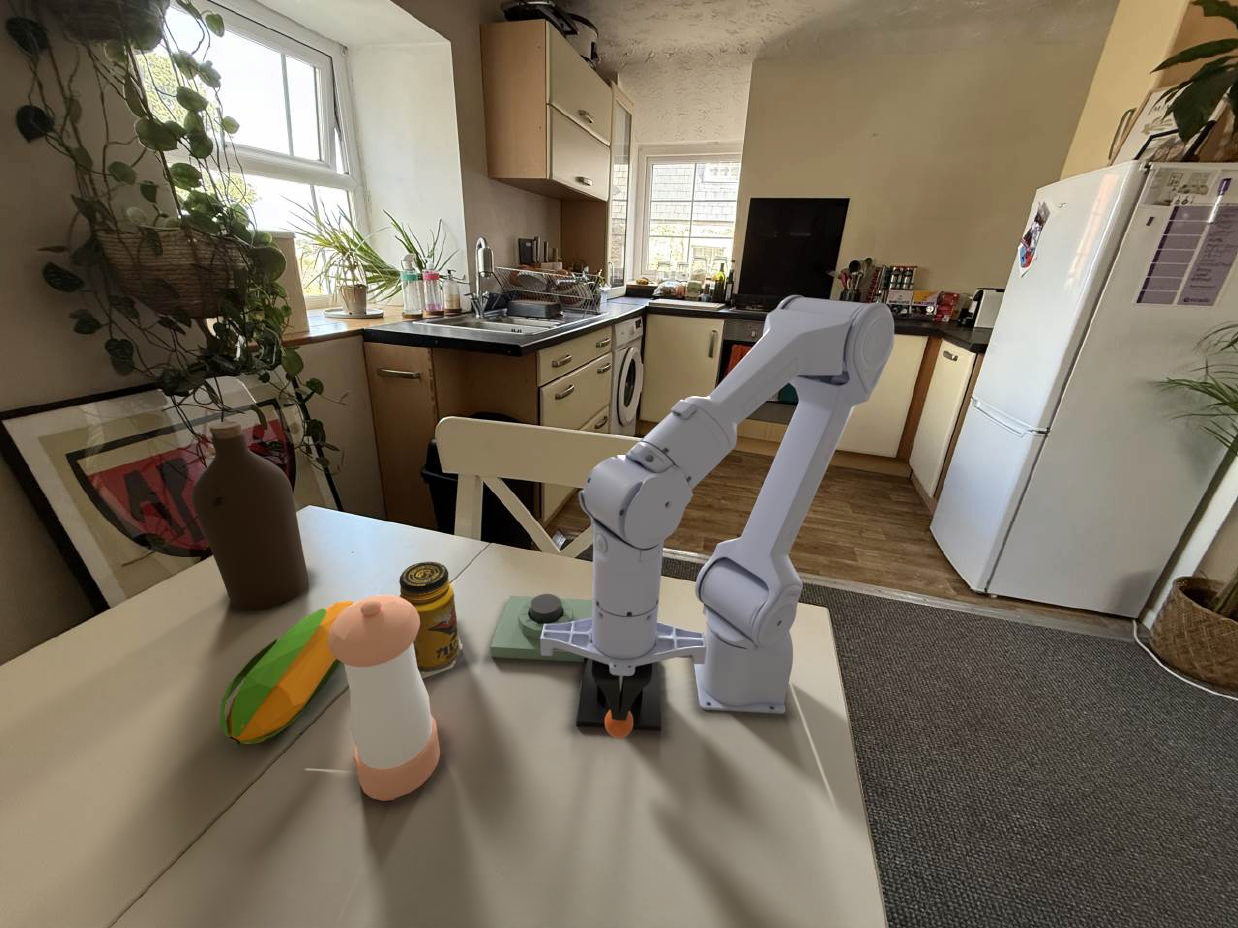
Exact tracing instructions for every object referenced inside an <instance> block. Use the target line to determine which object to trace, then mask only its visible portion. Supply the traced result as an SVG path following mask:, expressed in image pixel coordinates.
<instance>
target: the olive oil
mask: <svg viewBox="0 0 1238 928" xmlns="http://www.w3.org/2000/svg"><path fill="white" fill-rule="evenodd" d="M208 429H209V433H211V437H210V440H211V443H212V445H213V446H212V447H213V449H214V452H215V456H214V458H213V459H212V460H211V462H209V464H208V465H207V467H206V468H204V470H203V471H202V473H201V474H200V475H199V477H198V478H197V479H196V481H195V483H194V485H193V488H192V500H191V501H192V507H193V510H194V512H195V515H196V517H197V520H198V522H199V525H200V527H201V529H202V531H203V534H204V536H205V539H206V541H207V543H208V546H209V549H210V551H211V553H212V556H213V558H214V561H215V563H216V566H217V568H218V572H219V574H220V576H221V579H222V582H223V585H224V587H225V589H226V593H227V595H228V598H229V600H230V602H231V604H232V605H233V606H234V607H235V608H237V609H240V610H247V611H254V610H255V611H257V610H262V609H268V608H272V607H276V606H278V605H281V604H283V603H286V602H288V601H290V600H292V599H293V598H295V597H296V596H298V595H299V594H300V593H302V591H303V590H304V589H305V588H306V587H307V585H308V583H309V574H308V569H307V564H306V559H305V555H304V549H303V544H302V539H301V534H300V533H301V532H300V528H299V521H298V517H297V510H296V504H295V498H294V493H293V492H294V491H293V487H292V484H291V481H290V480H289V478H288V476H287V475H286V473H285V472H284V470H283V469H282V468H281V467H280V466H278V465H276V464H275V463H273V462H272V461H270V460H268V459H266V458H264V457H262V456H260V455H258V454H256V453H254V452H253V451H252V450H250V449H249V448H248V444H247V439H246V435H245V432H243V431H242V424H241V423H240V422H239V421H222V422H221V421H220V422H217V423H214V424H212V425H210V426H209V427H208Z"/></svg>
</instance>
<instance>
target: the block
mask: <svg viewBox="0 0 1238 928" xmlns="http://www.w3.org/2000/svg"><path fill="white" fill-rule="evenodd" d="M556 596H557V597H559V598H560V600H561V606H562V614H561V617H560V618H559V619H558V620H557V621H556V622H553V623H550V624H559V623H566V622H572V621H577V620H582V619H588V618H592V599H586V598H585V599H584V598H566V597H561V596H558V595H556ZM535 597H536V596H530V595H529V596H528V595H527V596H526V595H509V597H508V599H507V602H506V605H505V607H504V610H503V612H502V615H501V618H500V620H499V622H498V625H497V628H496V631H495V632H494V633H495V634H494V636H493V639H492V642H491V644H490V647H489V648H490V657H491V658H501V659H502V658H505V659H522V660H523V659H524V660H539V661H540V660H542V661H558V662H560V661H561V662H576V663H577V662H578V663H584V658H587V657H584V656H581V655H578V654H575V653H572V652H567V651H554V653H553V655H552V656H542V655H541V646H540V638H541V634H542V630H543V626H544V624H539V623H536V622H534V621H533V620H532V618H531V616H530V603H531V601H532V599H533V598H535Z"/></svg>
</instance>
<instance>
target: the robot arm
mask: <svg viewBox="0 0 1238 928" xmlns="http://www.w3.org/2000/svg"><path fill="white" fill-rule="evenodd" d="M894 346H895V321H894V317H893V314H892V311H891V309H890V307H889V306H888V305H887V304H885V303H884V302H870V303H868V302H858V301H857V302H855V301H848V300H847V301H845V300H835V299H825V298H816V297H815V298H814V297H805V296H804V295H801V294H792V295H791V294H790V295H789V296H787V297H785V298H784V299H783V300H782V301H780V302H779V304H778V305H777V307H776V308H775V309H773V310H772V311H770V312H769V313H768V314H767V315H766V318H765V321H764V325H763V331H762V337H761V338H760V339H759V340H758V341H757V342H756V343H755V344H754V345H753V346H752V348H751V349H750V350H749V351H748V352H747V353H746V354H745V355H744V356H743V358H742V359H741V360H740V361H739V362H738V363H737V364H736V365H735V366H734V368H733V369H732V370H731V371H730V372H729V373H728V374H727V375H726V376H725V377H724V378H723V379H722V380H721V382H720V383H719V384H718V385H717V386H716V387H715V388H714V390H713V391H711V393H710V394H708V396H706V397H705V396H704V397H702V396H689V397H686V398H684V400H683V399H680V400H679V401H677V402H676V403H675V405H673V406H672V407H671V408H670V411H671V412H670V413H669V414H668V415H666V417H664V418H663V419H662V420H661V421H660V422H659V423H658V424H657V425H655V427H654V428H652V429H651V430H650V432H647V434H646V435H645V436H643V437H642V439H640V441H638V442H637V443H636V444H635V445H634V446H632V448H631V449H629V450H628V451H627V452H626V453H625V454H624V455H623V454H622V455H621V454H620V455H619V454H618V455H615V457H614V456H611V457H609V458H606V459H604V460H602V461H600V462H599V463H598V464H596V465H595V466H594V467H593V468H592V470H591V471H590V473H589V474H588V476H587V477H586V481H585V483H584V488H583V489H582V490H580V491H579V492H578V501H579V505H580V507H581V509H582V510H583V512H585V514H586V515H587V516H588V517H589V520H590V526H591V527H590V532H591V534H593V537H592V538H593V540H592V542H593V543H592V580H591V581H592V583H591V585H592V587H591V600H592V618H588V619H582V620H577V621H572V622H566V623H559V624H544V626H543V630H542V634H541V638H540V646H541V655H542V656H552V655H553V653H554V651H567V652H572V653H575V654H578V655H581V656H584V657H587V658H590V659H592V670H591V672H592V677H593V680H594V682H595V683H596V684H597V685H598V686H599V687H600V688H601V690H602V691H603V693H604V695H605V697H606V699H607V701H608V704H609V707H610V711H611V715H612V719H613V720H626V719H627V715H628V712H629V710H630V707H631V705H632V703H633V702H634V700H635V698H636V697H637V695H638V694H639V693H640V692H641V690H642V689H643V688H645V687H646V686H647V685H648V684H649V683H650V680H651V677H652V663H654V662H658V663H659V662H662V661H667V660H671V659H676V658H678V659H691V663H692V664H693V666H694V667H693V668H694V674H695V681H696V688H697V696H698V703H699V707H700V708H701V709H702V710H706V711H723V712H724V711H726V712H745V713H759V714H761V713H764V714H778V715H779V714H781V715H783V714H785V713H786V706H785V700H786V696H787V691H788V687H789V682H790V678H791V674H792V671H793V663H794V661H793V660H794V645H793V638H792V634H791V631H790V630H791V628H792V627H793V624H794V622H795V620H796V617H797V611H798V609H797V608H798V604H799V600H800V598H801V594H802V593H803V592H802V591H803V588H804V584H803V582H802V579H801V577H800V575H799V573H798V572H797V569H796V568H795V567H794V564H793V563H792V560H791V558H790V556H789V554H790V553H791V550H792V548H793V545H794V543H795V541H796V538H797V537H798V534H799V532H800V531H801V527H802V525H803V523H804V521H805V519H806V516H807V514H808V512H809V509H810V507H811V505H812V503H813V501H814V498H815V496H816V493H817V491H818V490H819V487H820V485H821V483H822V480H823V478H824V477H825V474H826V472H827V469H828V467H829V465H830V463H831V461H832V458H833V456H834V454H835V451H836V450H837V447H838V445H839V442H840V440H841V438H842V437H843V434H844V431H845V429H846V427H847V424H848V422H849V420H850V418H851V415H852V413H853V412H854V409H855V407H856V406H857V405H861V404H865V403H867V402H868V401H870V399H871V397H872V394H873V393H874V390H875V389H876V387H877V385H878V383H879V381H880V378H881V376H882V374H883V372H884V370H885V367H886V365H887V363H888V361H889V359H890V356H891V354H892V352H893V349H894ZM788 384H790V385H791V386H792V387H794V389H795V391H796V395H797V397H798V404H797V406H796V408H795V410H794V413H793V415H792V417H791V420H790V422H789V425H788V426H787V429H786V430H785V431H786V432H785V434H784V436H783V439H782V441H781V443H780V445H779V447H778V450H777V452H776V455H775V457H774V458H773V462H772V464H771V466H770V469H769V471H768V473H767V475H766V478H765V480H764V482H763V485H762V487H761V488H760V489H761V490H760V492H759V494H758V496H757V499H756V502H755V504H754V506H753V508H752V510H751V512H750V515H749V517H748V519H747V522H746V524H745V527H744V529H743V531H742V534H741V536H740V537H737V538H733V539H727V540H724V541H722V542H719V543H717V544H716V547H715V549H714V551H713V553H712V554H711V556H710V558H709V559H708V560H707V562H706V563H705V564H704V565H703V566H702V567H701V569H700V571H699V572H698V575H697V577H696V581H695V585H694V593H695V597H696V598H697V600H698V602H700V603H702V604H703V608H702V614H703V615H705V617H706V625H705V632H703V631H694V630H688V629H684V628H681V627H678V626H675V625H671V624H667V623H663V622H661V621H658V615H659V605H660V603H659V602H660V591H661V581H662V580H661V577H662V566H663V557H664V544H665V541H666V539H668V538H669V537H670V536H672V535H673V534H674V533H675V532H676V530H677V528H678V527H679V525H680V524H681V521H682V518H683V516H684V512H685V509H686V508H687V506H688V504H689V503H691V501H692V498H693V497H694V493H693V490H694V488H696V487H697V486H698V485H699V484H700V483H701V482H702V481H703V480H704V479H705V477H707V476H708V475H709V474H710V473H711V472H712V471H713V470H714V469H715V468H716V467H717V466H718V465H719V464H720V463H721V462H722V460H724V459H725V458H726V456H728V455H729V454H730V453H731V452H732V451H733V450H734V449H735V447H736V446H737V441H738V425H739V424H741V423H742V422H743V421H744V420H746V419H747V418H748V417H749V416H750V415H752V414H753V413H754V412H755V411H757V409H758V408H760V407H761V406H762V405H764V404H765V403H766V402H767V401H769V399H770V398H772V397H773V396H774V395H776V394H777V393H778V392H779V391H781V389H782V388H784V387H785V386H786V385H788ZM619 675H621V676H623V678H622V684H621V691H620V678H619Z"/></svg>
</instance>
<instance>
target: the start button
mask: <svg viewBox="0 0 1238 928" xmlns="http://www.w3.org/2000/svg"><path fill="white" fill-rule="evenodd" d="M557 596H558V595H555V594H552V593H542V594H539V595H536V596H534V597H535V598H533V599H532V601H531V603H530V616H531V618H532V620H533V621H534V622H536V623H539V624H550V623H553V622H556V621H557V620H558V619H559V618H560V617H561V614H562V606H561V600H560V598H559V597H560V596H559V597H557Z"/></svg>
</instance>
